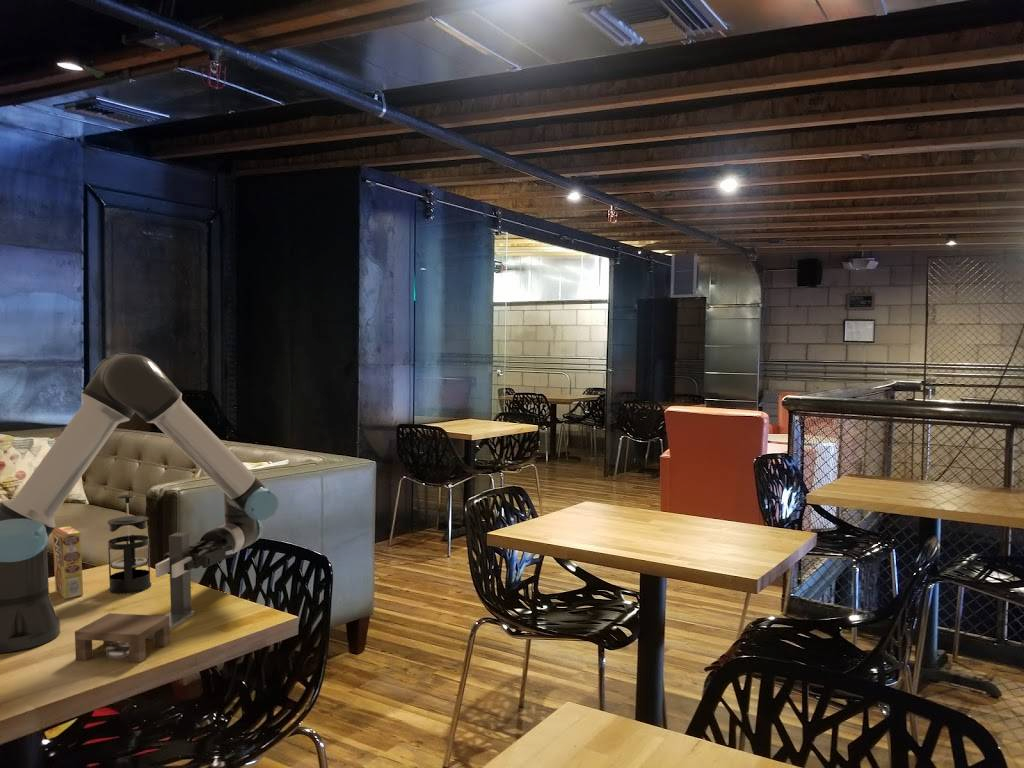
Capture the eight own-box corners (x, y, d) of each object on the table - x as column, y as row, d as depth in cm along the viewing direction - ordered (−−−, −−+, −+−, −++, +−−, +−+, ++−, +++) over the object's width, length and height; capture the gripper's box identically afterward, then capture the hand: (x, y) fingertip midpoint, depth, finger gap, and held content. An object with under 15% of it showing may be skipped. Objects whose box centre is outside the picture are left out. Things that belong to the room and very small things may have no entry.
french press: (150, 592, 188) (147, 497, 187) (106, 597, 185) (103, 500, 184) (152, 578, 199) (149, 488, 198) (111, 582, 196) (108, 491, 194)
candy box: (84, 595, 186) (81, 531, 185) (64, 599, 183) (61, 534, 182) (73, 587, 192) (70, 525, 192) (53, 591, 189) (51, 528, 189)
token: (101, 660, 149) (101, 652, 148) (113, 649, 154) (112, 641, 153) (129, 659, 149) (128, 652, 149) (139, 648, 154) (139, 641, 154)
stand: (75, 660, 148) (74, 631, 148) (110, 640, 158) (109, 613, 158) (139, 663, 146) (138, 634, 146) (169, 643, 156) (169, 616, 156)
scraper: (130, 638, 159) (127, 550, 158) (172, 612, 174) (170, 532, 173) (158, 639, 158) (155, 551, 157) (197, 613, 173) (195, 533, 172)
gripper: (253, 559, 188) (201, 590, 165) (190, 557, 190) (130, 587, 167) (252, 528, 188) (200, 554, 165) (189, 526, 190) (129, 552, 167)
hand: (165, 571), depth 166 cm, fingers closed on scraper, 3 cm apart
